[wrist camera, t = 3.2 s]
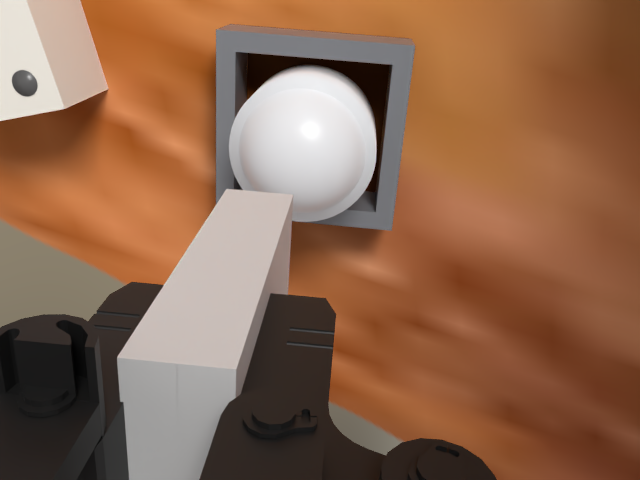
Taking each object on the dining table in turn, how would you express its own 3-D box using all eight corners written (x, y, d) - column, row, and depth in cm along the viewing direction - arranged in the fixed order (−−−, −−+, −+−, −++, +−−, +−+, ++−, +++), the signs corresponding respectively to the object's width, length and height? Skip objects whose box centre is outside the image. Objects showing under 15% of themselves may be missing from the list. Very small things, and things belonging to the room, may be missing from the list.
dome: (247, 58, 23) (218, 78, 18) (382, 69, 22) (385, 92, 18) (244, 186, 25) (218, 231, 20) (368, 198, 24) (368, 245, 20)
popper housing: (230, 23, 24) (216, 29, 22) (411, 38, 23) (415, 45, 21) (228, 193, 27) (215, 214, 24) (390, 209, 26) (391, 230, 24)
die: (-17, 6, 24) (-86, 12, 21) (76, -15, 24) (21, -12, 20) (21, 105, 26) (-37, 128, 22) (109, 88, 25) (64, 108, 22)
